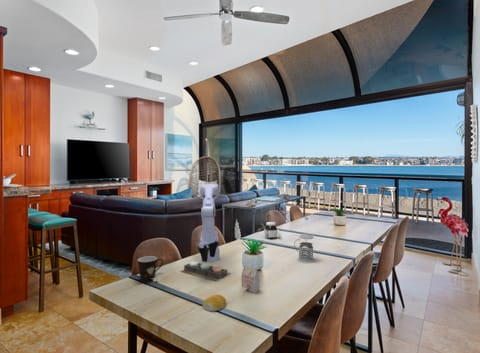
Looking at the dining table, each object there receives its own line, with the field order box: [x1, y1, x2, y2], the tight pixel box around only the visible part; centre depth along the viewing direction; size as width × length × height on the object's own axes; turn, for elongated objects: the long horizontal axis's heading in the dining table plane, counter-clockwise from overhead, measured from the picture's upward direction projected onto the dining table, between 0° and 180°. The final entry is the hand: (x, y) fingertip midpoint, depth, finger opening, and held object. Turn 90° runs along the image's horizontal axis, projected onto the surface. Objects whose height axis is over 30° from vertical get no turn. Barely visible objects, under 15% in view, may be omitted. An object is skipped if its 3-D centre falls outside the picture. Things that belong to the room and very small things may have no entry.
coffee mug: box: [137, 255, 164, 283], centre depth 138 cm, size 12×9×10 cm
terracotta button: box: [213, 266, 223, 273], centre depth 139 cm, size 4×4×2 cm
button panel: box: [179, 262, 232, 283], centre depth 143 cm, size 12×23×4 cm, turn 57°
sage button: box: [201, 263, 211, 270], centre depth 143 cm, size 4×4×2 cm
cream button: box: [188, 260, 199, 267], centre depth 147 cm, size 4×4×2 cm
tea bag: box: [241, 265, 260, 294], centre depth 126 cm, size 4×7×10 cm, turn 51°
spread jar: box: [263, 221, 282, 240], centre depth 218 cm, size 12×11×12 cm
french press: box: [293, 216, 315, 264], centre depth 165 cm, size 10×12×25 cm
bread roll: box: [202, 294, 227, 312], centre depth 112 cm, size 8×9×4 cm
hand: (208, 259), depth 138 cm, fingers open, 7 cm apart
